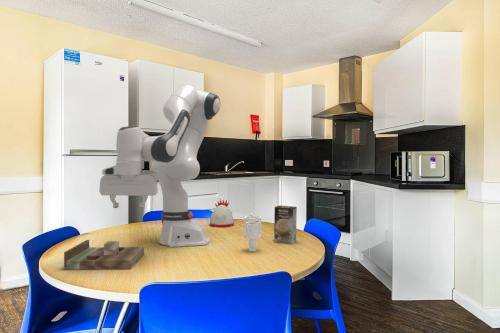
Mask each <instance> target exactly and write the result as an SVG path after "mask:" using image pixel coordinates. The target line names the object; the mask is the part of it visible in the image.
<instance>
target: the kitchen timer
mask: <svg viewBox="0 0 500 333" xmlns="http://www.w3.org/2000/svg"><path fill="white" fill-rule="evenodd" d="M216 202H217V203H216ZM216 202H215V203H214V205H215V208H214V209H213V211H212V213H211V217H210V218H209V226H210V227H211V228H219V229H220V228H222V229H223V228H224V229H225V228H231V227H234V226H235V220H234V216H233V211H231V210H230V208H229V207H228V206H229V204H230V201H228V200H227V199H226V200H225V201H224V199H220V200H219V201H216Z"/></svg>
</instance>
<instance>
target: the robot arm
mask: <svg viewBox="0 0 500 333" xmlns="http://www.w3.org/2000/svg"><path fill="white" fill-rule="evenodd" d="M220 108H221V100H220V97H219V96H218V95H217V94H215V93H213V92H208V91H205V90H204V91H203V90H196V88H195V87H193V86H191V85H190V84H184V85H182V86H180V87H178V88H177V89H175V91H174V92H173V93H172V94H171V95H170V96H169V97H168V99H167V100H166V101H165V103H164V105H163V109H162V111H163V116H164V117H165V118H166V120H167V121H168V122H169V123H170V127H169V128H168V130H167V132H166V133H164V134H162V135H154V136H151V135H148V134H147V133H145V132H144V131H143V130H142V129H141V127H140V126H139V125H131V126H129V125H128V126H122V127H120V128H118V131H117V134H116V142H115V143H116V144H115V145H116V148H115V149H116V153H117V156H116V160H115V161H116V162H115V163H116V164H115V165H113V166H109V167H106V168H103V169H102V171H101V174H102V176H101V178H100V180H99V181H100V182H99V194H100V195H101V196H109V199H110V202H111V203H112V208H113V209H118V208H119V205H120V204H119V202H117V201H116V197H117V196H129V197H130V196H137V197H138V196H139V197H140V196H141V198H142V202H138V203H139V204H138V208H139V209H145V203H146V202H147V200H148V196H150V197H151V196H153V197H154V196H156V195H158V183H159V186H160V189H161V194H162V211H161V224H162V225H161V233H160V234H161V235H160V238H159V242H158V243H159V244H160V245H163V246H167V247H170V248H175V247H176V248H177V247H193V246H195V247H196V246H197V247H198V246H206V245H208V244H209V243H210V237H209V236H207V235H206V234H205V229H204V226H203V225H201V224H200V223H198V222H197V221H196V220H195V219H193V216H194V214H193V212H192V211H190V210H189V206H188V205H189V193H188V192H187V191H186V189H184V187H183V184H182V182H181V181H183V182H184V181H185V182H186V181H191V180H193V179H194V180H195V178H197V177H198V176H199V175H200V171H201V170H200V169H201V167H200V163H199V161H198V160H197V157H198V156H197V155H198V152H199V149H200V147H201V145H202V142H203V140H204V138H205V135H206V132H207V130H208V127H209V126H208V125H209V120H211V119H213V118H214V117H215V116H216V115H217V114H218V113H219V111H220ZM143 162H153V163H152V165H151V168H152V169H150V170H146V169H142V168H143Z"/></svg>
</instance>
